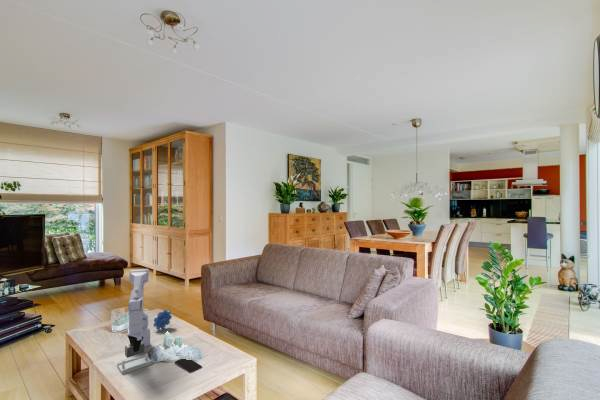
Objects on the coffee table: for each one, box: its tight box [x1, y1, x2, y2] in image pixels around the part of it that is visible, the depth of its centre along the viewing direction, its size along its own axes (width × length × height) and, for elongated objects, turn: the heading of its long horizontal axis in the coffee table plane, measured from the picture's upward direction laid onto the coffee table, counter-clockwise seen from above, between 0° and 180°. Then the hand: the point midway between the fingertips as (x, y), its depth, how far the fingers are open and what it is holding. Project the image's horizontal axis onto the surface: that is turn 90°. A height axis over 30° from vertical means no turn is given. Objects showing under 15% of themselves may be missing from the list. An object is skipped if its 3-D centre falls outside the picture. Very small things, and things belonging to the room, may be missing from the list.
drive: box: [124, 342, 145, 359], centre depth 159 cm, size 8×4×5 cm, turn 133°
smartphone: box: [174, 358, 203, 374], centre depth 160 cm, size 7×1×15 cm
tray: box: [116, 353, 153, 375], centre depth 159 cm, size 14×9×4 cm, turn 133°
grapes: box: [153, 309, 173, 331], centre depth 205 cm, size 12×7×12 cm, turn 135°
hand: (135, 349), depth 159 cm, fingers closed on drive, 4 cm apart
